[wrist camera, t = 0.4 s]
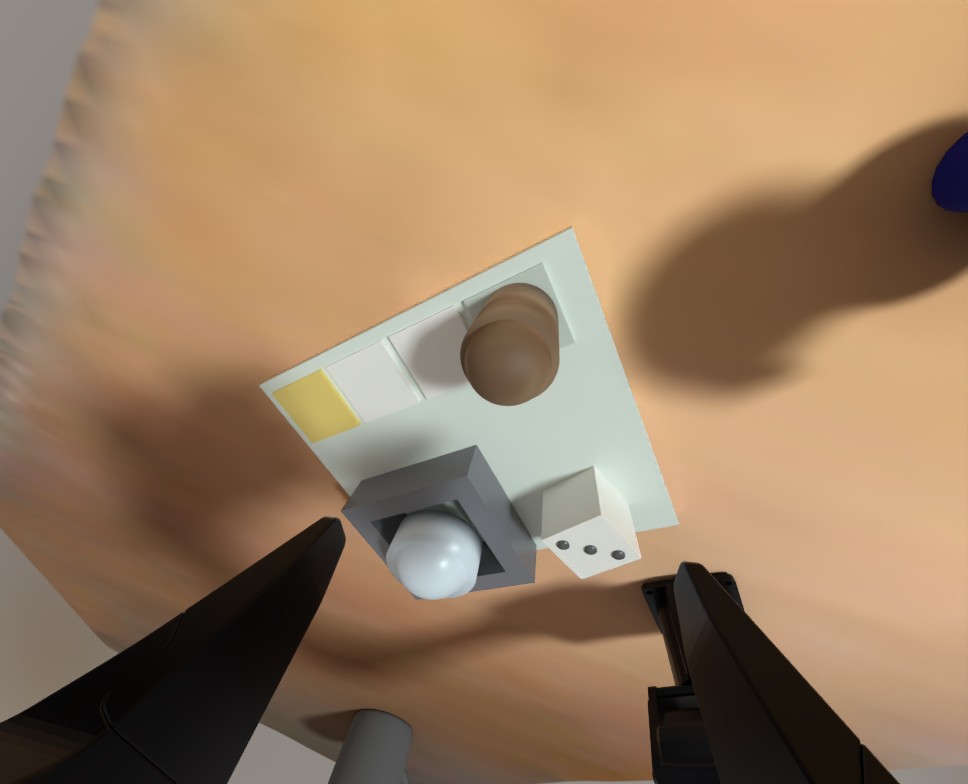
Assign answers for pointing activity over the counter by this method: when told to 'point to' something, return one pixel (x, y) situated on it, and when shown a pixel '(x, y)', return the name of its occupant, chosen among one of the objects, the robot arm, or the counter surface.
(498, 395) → the pawn
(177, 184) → the counter surface
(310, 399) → the board
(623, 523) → the die
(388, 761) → the mug
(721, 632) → the robot arm
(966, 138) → the toy
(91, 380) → the counter surface
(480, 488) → the base
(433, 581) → the dome
